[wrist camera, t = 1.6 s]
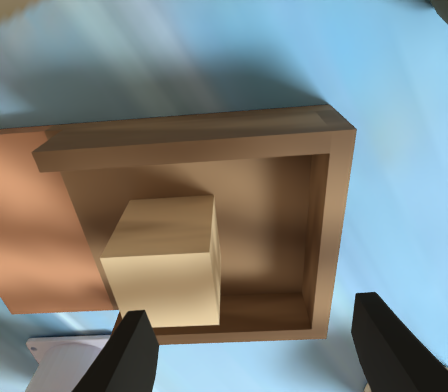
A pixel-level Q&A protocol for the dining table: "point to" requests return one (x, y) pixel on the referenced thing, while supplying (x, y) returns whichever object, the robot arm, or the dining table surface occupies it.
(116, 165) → the brown wooden tray
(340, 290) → the dining table surface
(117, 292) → the maple block
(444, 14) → the kendama
